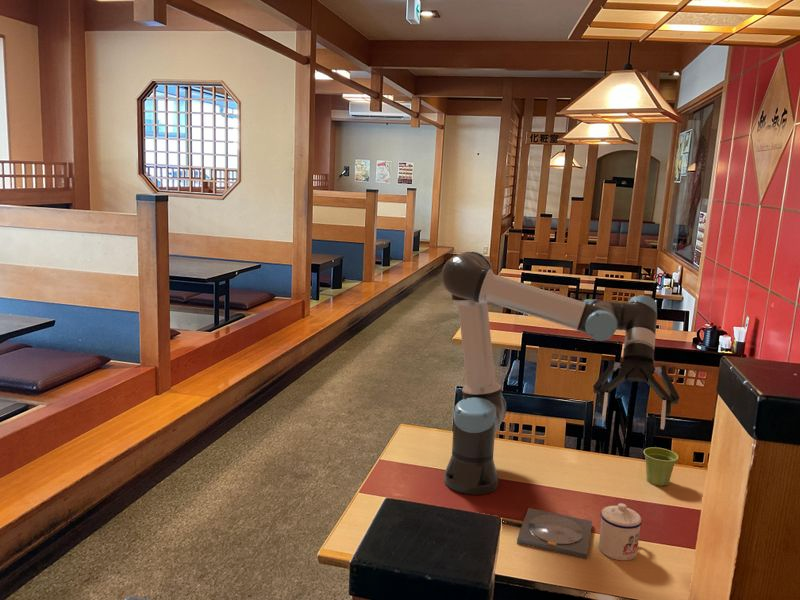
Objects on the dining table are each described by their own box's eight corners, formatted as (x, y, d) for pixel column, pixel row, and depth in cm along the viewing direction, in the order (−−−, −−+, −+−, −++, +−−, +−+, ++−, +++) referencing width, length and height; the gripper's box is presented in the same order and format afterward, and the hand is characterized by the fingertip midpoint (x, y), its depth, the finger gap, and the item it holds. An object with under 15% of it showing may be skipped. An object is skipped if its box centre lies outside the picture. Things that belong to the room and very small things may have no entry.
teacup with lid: (629, 566, 144) (634, 519, 142) (590, 550, 150) (595, 504, 148) (648, 545, 153) (653, 500, 151) (611, 531, 159) (616, 487, 156)
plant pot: (672, 492, 180) (675, 463, 179) (637, 483, 185) (640, 455, 184) (677, 480, 188) (680, 452, 187) (644, 471, 193) (647, 444, 192)
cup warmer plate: (488, 536, 154) (488, 530, 154) (502, 506, 169) (502, 501, 168) (586, 559, 146) (587, 552, 146) (591, 525, 161) (592, 519, 161)
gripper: (689, 362, 166) (686, 437, 155) (589, 351, 174) (580, 421, 163) (692, 346, 160) (690, 423, 149) (589, 336, 169) (579, 407, 157)
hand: (632, 422), depth 156 cm, fingers open, 13 cm apart
